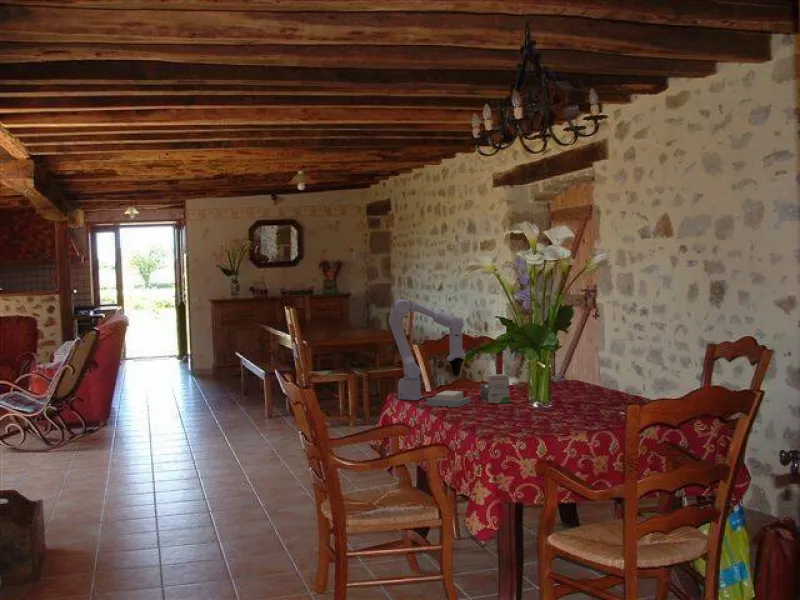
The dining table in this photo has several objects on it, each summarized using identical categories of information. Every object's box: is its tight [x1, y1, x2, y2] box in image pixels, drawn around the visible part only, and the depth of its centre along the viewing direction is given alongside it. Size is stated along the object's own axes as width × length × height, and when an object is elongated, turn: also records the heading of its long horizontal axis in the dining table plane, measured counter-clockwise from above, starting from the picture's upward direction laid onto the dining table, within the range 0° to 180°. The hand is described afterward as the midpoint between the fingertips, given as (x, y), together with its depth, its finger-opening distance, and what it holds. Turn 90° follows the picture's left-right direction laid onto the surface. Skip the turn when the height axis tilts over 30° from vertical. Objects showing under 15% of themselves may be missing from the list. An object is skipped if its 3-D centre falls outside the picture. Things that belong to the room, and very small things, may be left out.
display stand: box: [426, 396, 471, 408], centre depth 369 cm, size 14×12×3 cm
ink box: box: [487, 373, 511, 404], centre depth 371 cm, size 9×5×12 cm, turn 94°
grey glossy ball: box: [479, 383, 488, 400], centre depth 381 cm, size 6×6×6 cm
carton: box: [435, 390, 464, 400], centre depth 370 cm, size 8×10×5 cm
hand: (456, 375), depth 388 cm, fingers closed
